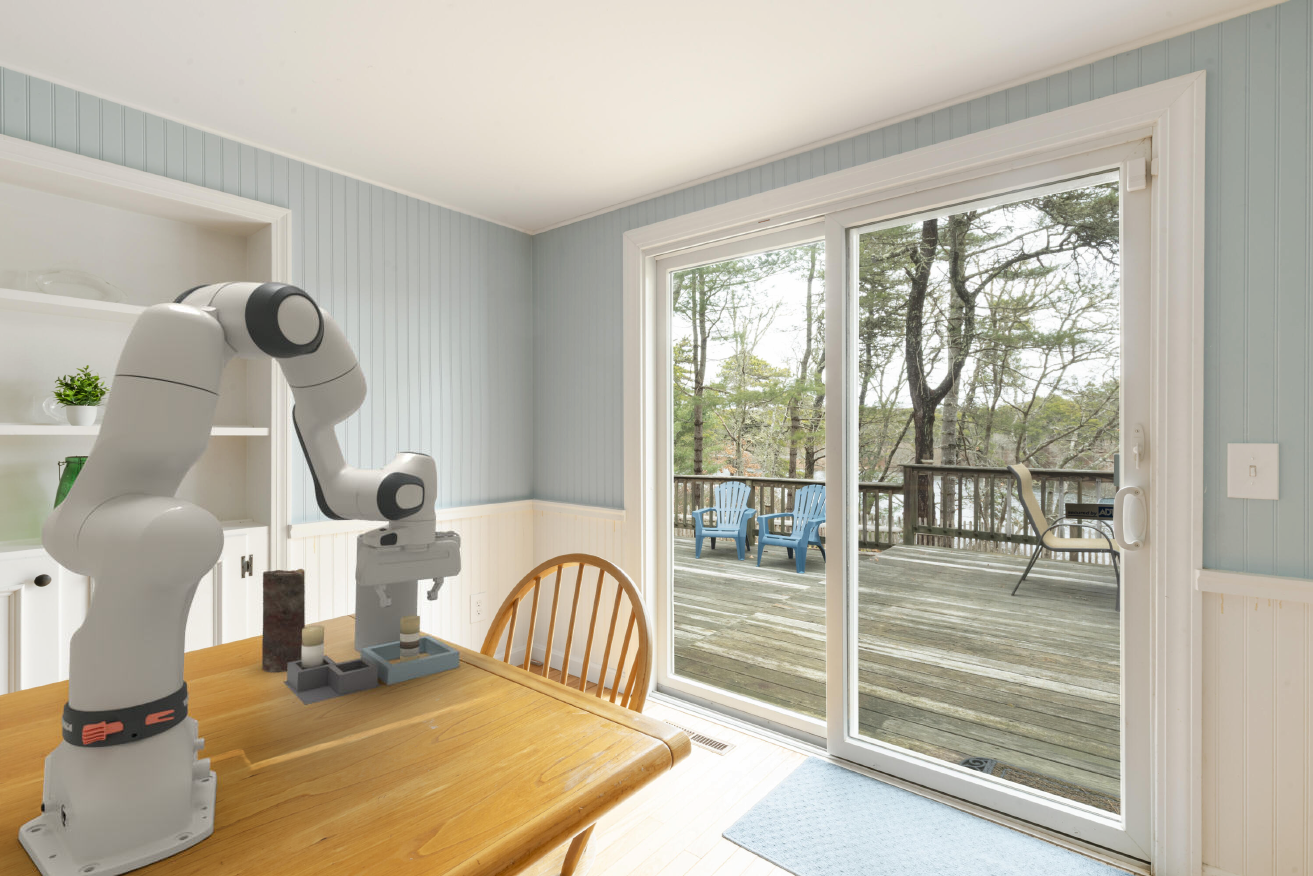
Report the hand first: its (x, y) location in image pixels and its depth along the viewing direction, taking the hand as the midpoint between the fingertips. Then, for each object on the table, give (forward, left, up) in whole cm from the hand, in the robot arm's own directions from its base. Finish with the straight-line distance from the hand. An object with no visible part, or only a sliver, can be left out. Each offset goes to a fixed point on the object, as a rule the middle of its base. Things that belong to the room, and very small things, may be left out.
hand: (409, 603), depth 127 cm
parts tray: (0, 0, -14) cm, 14 cm away
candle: (+16, +18, -14) cm, 28 cm away
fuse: (+3, +17, -13) cm, 21 cm away
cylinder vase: (+16, -2, -14) cm, 21 cm away
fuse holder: (0, +14, -14) cm, 20 cm away
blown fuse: (0, 0, -13) cm, 13 cm away
